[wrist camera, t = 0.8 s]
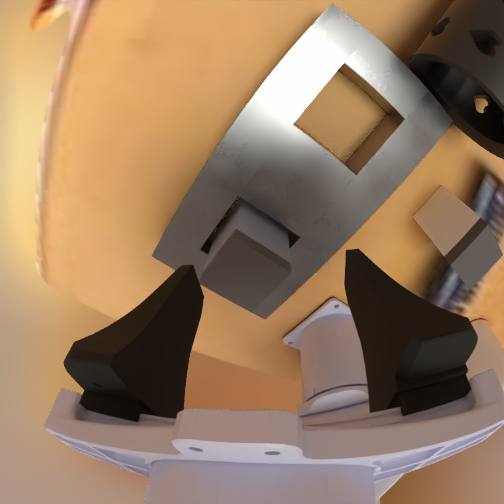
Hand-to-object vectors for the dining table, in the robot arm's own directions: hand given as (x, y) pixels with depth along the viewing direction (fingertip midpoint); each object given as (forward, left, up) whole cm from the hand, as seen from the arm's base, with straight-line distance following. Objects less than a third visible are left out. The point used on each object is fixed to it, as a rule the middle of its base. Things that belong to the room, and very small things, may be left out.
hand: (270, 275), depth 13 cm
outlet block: (0, -3, -10) cm, 10 cm away
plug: (-13, -8, -10) cm, 18 cm away
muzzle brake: (-4, -28, -10) cm, 30 cm away
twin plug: (0, +3, -10) cm, 10 cm away
